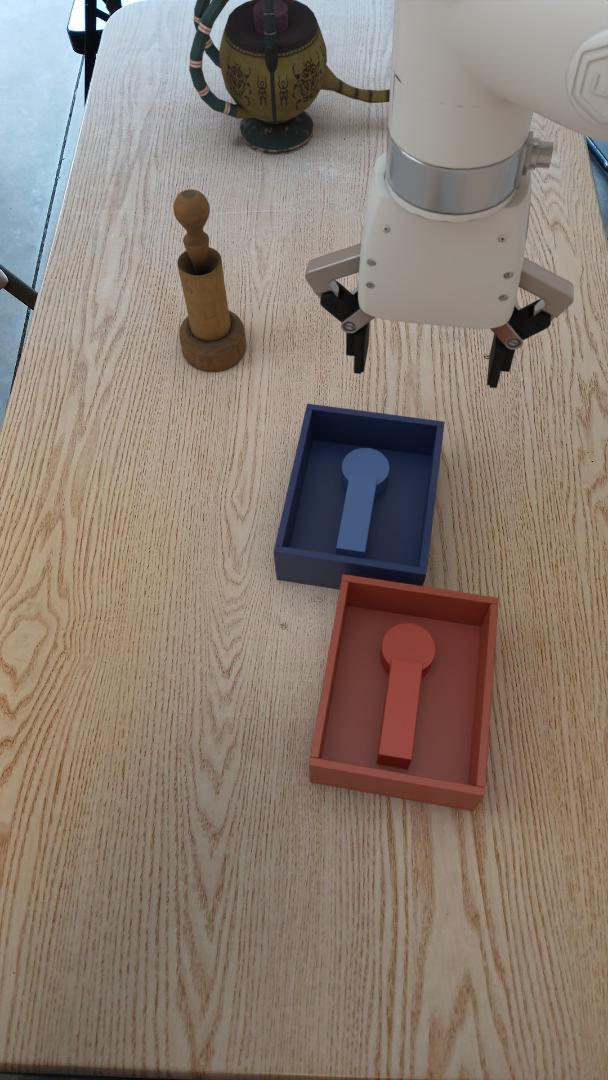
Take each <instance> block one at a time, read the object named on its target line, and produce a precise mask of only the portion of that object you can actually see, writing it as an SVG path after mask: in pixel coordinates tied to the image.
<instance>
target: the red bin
mask: <svg viewBox="0 0 608 1080" xmlns="http://www.w3.org/2000/svg"><path fill="white" fill-rule="evenodd" d="M499 602H500V598H499V597H496V596H491V595H490V596H489V595H484V594H483V595H482V594H476V593H470V592H464V591H456V590H449V589H444V588H437V587H431V586H425V585H423V586H418V585H411V584H405V583H398V582H391V581H385V580H378V579H372V578H365V577H359V576H352V575H346V574H343V575H342V580H341V585H340V589H339V592H338V597H337V603H336V609H335V614H334V620H333V626H332V631H331V637H330V643H329V649H328V654H327V658H326V659H327V660H326V665H325V670H324V675H323V676H324V677H323V682H322V688H321V694H320V698H319V704H318V711H317V716H316V722H315V725H314V733H313V738H312V743H311V748H310V755H309V761H308V778H309V783H313V784H319V785H323V786H324V785H325V786H329V787H334V788H335V787H336V788H341V789H345V790H346V789H347V790H352V791H358V792H363V793H368V794H374V795H380V796H385V797H391V798H396V799H402V800H407V801H412V802H419V803H425V804H429V805H434V806H435V805H436V806H440V807H441V806H442V807H446V808H452V809H457V810H464V811H469V812H473V811H474V810H475V809H476V808H477V806H478V805H479V804H480V802H481V801H482V800H483V799H484V797H485V795H486V784H487V783H486V781H487V767H488V756H489V754H488V753H489V742H490V741H489V740H490V727H491V712H492V701H493V684H494V674H495V673H494V671H495V658H496V646H497V645H496V644H497V632H498V630H497V629H498V619H499V618H498V617H499V604H500V603H499ZM401 623H413V624H417V625H419V626H421V627H423V628H424V629H426V630H427V631H428V632H429V633H430V635H431V636H432V638H433V640H434V642H435V647H436V652H435V657H434V660H433V663H432V666H431V668H430V670H429V672H428V673H427V674H426V675H425V676H424V677H422V678H421V685H420V693H419V702H418V710H417V719H416V727H415V736H414V744H413V753H412V760H411V763H410V765H409V768H408V769H402V768H397V767H391V766H385V765H380V764H377V755H378V748H379V741H380V734H381V726H382V719H383V712H384V705H385V698H386V690H387V683H388V676H389V674H388V673H387V672H386V671H385V669H384V668H383V666H382V664H381V660H380V651H381V645H382V640H383V638H384V636H385V634H386V633H387V631H388V630H389V629H391V628H392V627H394V626H395V625H398V624H401Z"/></svg>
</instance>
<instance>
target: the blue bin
mask: <svg viewBox="0 0 608 1080" xmlns="http://www.w3.org/2000/svg"><path fill="white" fill-rule="evenodd" d="M445 423H446V422H445V420H444V421H442V420H436V419H427V418H421V417H412V416H405V415H397V414H390V413H382V412H375V411H369V410H368V411H367V410H360V409H354V408H353V409H352V408H344V407H337V406H330V405H329V406H328V405H323V404H322V405H321V404H314V403H306V405H305V411H304V416H303V420H302V424H301V429H300V433H299V437H298V441H297V446H296V450H295V455H294V460H293V464H292V469H291V472H290V477H289V481H288V486H287V491H286V495H285V500H284V504H283V509H282V513H281V517H280V521H279V525H278V529H277V530H278V531H277V534H276V539H275V543H274V548H273V559H274V569H275V579H276V580H278V581H284V582H289V583H290V582H291V583H297V584H304V585H310V586H315V587H322V588H329V589H336V590H340V585H341V580H342V575H343V574H346V575H352V576H359V577H365V578H372V579H378V580H385V581H391V582H398V583H405V584H411V585H418V586H425V581H426V578H427V571H428V562H429V554H430V545H431V539H432V529H433V523H434V515H435V514H434V513H435V505H436V498H437V497H436V496H437V489H438V481H439V472H440V464H441V455H442V448H443V439H444V433H445ZM359 448H371V449H375V450H377V451H379V452H381V453H382V454H383V455H384V456H385V457H386V459H387V460H388V463H389V477H388V484H387V487H386V489H385V490H384V491H383V492H382V493H381V494H380V495H379V496H377V497H375V501H374V508H373V514H372V520H371V526H370V532H369V538H368V544H367V550H366V556H365V559H362V558H356V557H349V556H342V555H336V546H337V541H338V535H339V530H340V525H341V519H342V514H343V508H344V503H345V498H346V492H347V491H346V490H345V489H344V487H343V485H342V481H341V474H342V463H343V460H344V458H345V457H346V456H347V455H348V454H349V453H350V452H351V451H353V450H356V449H359Z"/></svg>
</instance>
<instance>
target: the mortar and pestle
mask: <svg viewBox="0 0 608 1080" xmlns="http://www.w3.org/2000/svg"><path fill="white" fill-rule="evenodd" d="M172 207H173V214H174V218H175V219H176V221H177V222H178V223H179V225H181V227H182V228H183V229H184V230H185V231H186V233H185V235H184V236H183V238H182V243H183V246H184V249H185V250H184V251H183V252H182V253H181V254H180V255H179V256H178V258H177V262H176V265H177V270H178V275H179V278H180V283H181V288H182V292H183V298H184V303H185V308H186V312H187V316H186V317H185V318H184V319H183V321H182V323H181V324H180V326H179V329H178V330H179V332H178V337H179V342H180V347H181V352H182V355H183V358H184V359H185V361H186V362H187V363H188V364H189V365H190V366H192V367H193V368H195V369H196V370H200V371H203V372H213V373H215V372H221V371H222V372H223V371H226V370H228V369H230V368H232V367H234V366H236V365H237V363H239V362H240V361H241V360H242V359H243V357H244V355H245V353H246V350H247V339H246V329H245V326H244V323H243V321H242V319H241V317H239V316H238V315H237V314H236V313H235V312H233V311H231V310H230V309H229V303H228V297H227V291H226V283H225V276H224V267H223V260H222V256H221V254H220V251H217V249H215V248H213V247H211V246H210V236H209V234H207V232H205V231H204V227H205V225H206V223H207V221H208V219H209V217H210V212H211V207H210V203H209V200H208V198H207V197H206V195H204V193H202V192H201V191H199V190H197V189H192V188H191V189H184V190H182V191H181V192H179V193H178V194H177V195H176V198H175V199H174V201H173V205H172Z"/></svg>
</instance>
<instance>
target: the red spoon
mask: <svg viewBox="0 0 608 1080" xmlns="http://www.w3.org/2000/svg"><path fill="white" fill-rule="evenodd" d="M435 652H436V647H435V642H434V640H433V638H432V636H431V635H430V633H429V632H428V631H427V630H426V629H424V628H423V627H421V626H419V625H417V624H413V623H401V624H398V625H395V626H394V627H392V628H391V629H389V630H388V631H387V633H386V634H385V636H384V638H383V640H382V645H381V651H380V660H381V664H382V666H383V668H384V669H385V671H386V672H387V673H388V674H389V676H388V683H387V690H386V698H385V705H384V712H383V719H382V726H381V734H380V741H379V748H378V755H377V764H380V765H385V766H391V767H397V768H402V769H408V768H409V765H410V763H411V760H412V753H413V744H414V736H415V727H416V719H417V710H418V702H419V693H420V685H421V678H422V677H424V676H425V675H426V674H427V673H428V672H429V670H430V668H431V666H432V663H433V660H434V657H435Z"/></svg>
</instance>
